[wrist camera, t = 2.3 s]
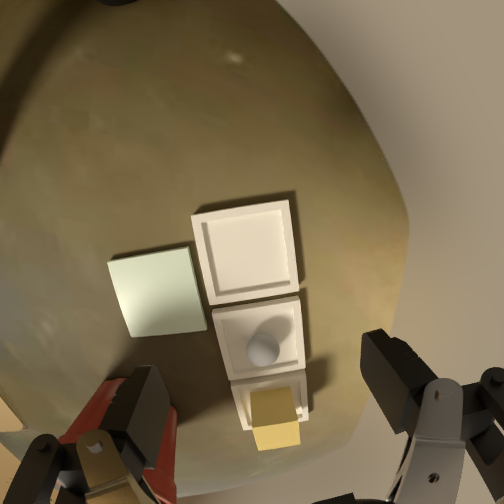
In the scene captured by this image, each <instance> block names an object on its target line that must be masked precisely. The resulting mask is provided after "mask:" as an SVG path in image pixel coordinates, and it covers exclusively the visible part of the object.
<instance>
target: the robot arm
mask: <svg viewBox="0 0 504 504" xmlns="http://www.w3.org/2000/svg"><path fill="white" fill-rule="evenodd" d="M360 369H361V373H362V376H363V379H364V380H365V382H366V384H367V385H368V387H369V389H370V391H371V392H372V394H373V396H374V397H375V399H376V401H377V403H378V404H379V406H380V408H381V409H382V411H383V413H384V415H385V417H386V418H387V420H388V422H389V424H390V425H391V427H392V429H393V431H394V432H395V434H399V433H401V432H404V431H406V432H407V434H408V435H409V436H408V438H407V442H406V445H405V448H404V451H403V454H402V457H401V461H400V464H399V466H398V469H397V472H396V475H395V478H394V480H393V482H392V485H391V487H390V489H389V491H388V493H387V495H386V497H385V500H384V501H383V500H377V499H355V498H354V495H353V493H349V494H345V495H342V496H338V497H335V498H331V499H327V500H322V501H318V502H315V503H312V504H455V501H456V497H457V493H458V489H459V484H460V479H461V473H462V468H463V461H464V454H465V449H466V450H467V452H468V454H469V455H470V457H471V459H472V460H473V462H474V464H475V466H476V467H477V469H478V471H479V472H480V474H481V476H482V478H483V480H484V482H485V483H486V485H487V487H488V489H489V491H490V493H491V495H492V497H493V498H494V500H495V502H496V504H504V436H503V434H502V433H501V432H500V430H499V429H498V427H497V426H496V425H495V423H494V420H495V419H496V421H497V422H498V423H499V425H500V426H501V427H502V428H503V430H504V369H503V368H499V367H493V368H489V369H487V370H486V371H485V372H484V373H483V374H482V376H481V380H480V382H477V383H472V384H468V385H463V386H460V385H459V384H458V383H457V382H456V381H454V380H452V379H448V378H438V377H437V376H436V375H435V374H434V372H432V370H431V369H430V368H429V367H428V366H427V365H426V363H424V361H423V360H422V359H421V358H420V357H418V355H417V354H416V353H415V352H414V351H413V350H412V348H411V347H410V346H409V345H408V344H407V343H406V342H405V341H402V340H400V339H398V338H396V337H393V338H390V337H389V336H388V335H387V333H386V332H385V331H384V330H383V329H381V328H380V329H377V330H373V331H370V332H366V333H363V335H362V342H361V359H360ZM169 409H170V396H169V393H168V390H167V388H166V386H165V384H164V381H163V379H162V377H161V374H160V372H159V369H158V368H157V366H156V365H142V366H136V368H135V370H134V372H133V374H132V376H131V378H126V379H125V380H124V381H123V382H122V383H121V384H120V385H119V386H118V388H117V390H116V392H115V394H114V396H113V398H112V400H111V404H109V406H108V408H107V410H106V412H105V414H104V416H103V419H102V421H101V423H100V425H99V427H98V429H95V430H90V431H88V432H86V433H84V434H83V435H82V436H81V437H80V438H79V439H78V441H77V443H65V444H61V443H60V442H59V441H58V440H57V439H56V437H55V436H53V435H51V434H42V435H40V436H38V437H36V438H35V439H34V440H33V441H32V443H31V444H30V446H29V448H28V450H27V452H26V454H25V456H24V458H23V460H22V462H21V464H20V466H19V468H18V470H17V472H16V474H15V476H14V478H13V481H12V483H11V485H10V487H9V490H8V492H7V494H6V497H5V499H4V501H3V504H50V497H51V494H52V491H53V489H54V486H55V483H56V481H57V482H58V483H60V484H61V487H60V490H59V493H58V496H57V499H56V502H55V504H161V502H160V501H159V499H158V498H157V496H156V495H155V493H154V492H153V490H152V489H151V487H150V486H149V484H148V483H147V481H146V479H145V478H144V477H143V475H142V474H143V470H144V469H154V470H155V467H156V463H157V458H158V454H159V450H160V446H161V441H162V437H163V433H164V429H165V425H166V421H167V417H168V413H169Z"/></svg>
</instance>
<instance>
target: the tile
mask: <svg viewBox="0 0 504 504" xmlns="http://www.w3.org/2000/svg"><path fill="white" fill-rule="evenodd" d="M107 264H108V267H109V271H110V274H111V278H112V281H113V285H114V288H115V291H116V294H117V298H118V301H119V304H120V307H121V310H122V313H123V316H124V318H125V321H126V324H127V327H128V330H129V332H130V335H131V337H144V336H156V335H167V334H177V333H186V332H195V331H204V330H207V327H208V326H207V322H206V318H205V314H204V310H203V306H202V302H201V298H200V294H199V290H198V285H197V281H196V277H195V272H194V268H193V263H192V258H191V254H190V249H189V246H187V247H181V248H175V249H170V250H164V251H158V252H152V253H147V254H141V255H136V256H130V257H125V258H119V259H114V260H110V261H108V262H107Z"/></svg>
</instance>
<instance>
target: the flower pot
mask: <svg viewBox="0 0 504 504" xmlns="http://www.w3.org/2000/svg"><path fill="white" fill-rule="evenodd" d="M125 379H126V378H117V379H114V380H110V381H108V380H107V381H104V382H103V383H102V384H101V385H100V387H99V388H98V389H97V391H96V392H95V393H94V395H93V396H92V397H91V399H90V400H89V402H88V403H87V404H86V406H85V407H84V408H83V410H82V411H81V413H80V414H79V415H78V417H77V418H76V419H75V421H74V422H73V424H72V425H71V426H70V428H69V429H68V431H67V432H66V433H65V435H62V436H61V437H59V439H58V441H59V442H60V443H61V444H65V443H77V441H78V439H79V438H80V437H81V436H82V435H83V434H84V433H86V432H88V431H90V430H95V429H98V427H99V425H100V423H101V421H102V419H103V416H104V414H105V412H106V410H107V408H108V406H109V404H111V400H112V398H113V396H114V394H115V392H116V390H117V388H118V386H119V385H120V384H121V383H122V382H123V381H124V380H125ZM176 433H177V412H176V410H175V408H174V407H172V406H171V405H170V409H169V413H168V417H167V421H166V425H165V429H164V433H163V437H162V441H161V446H160V450H159V454H158V458H157V463H156V467H155V470H154V469H144V470H143V474H142V475H143V477H144V478H145V479H146V481H147V483H148V484H149V486H150V487H151V489H152V490H153V492H154V493H155V495H156V496H157V498H158V499H159V501H160V502H161V504H176V485H175V483H174V466H175V447H176ZM56 482H57V481H56ZM57 483H58V482H57ZM58 484H59V485H60V486H61V484H60V483H58Z"/></svg>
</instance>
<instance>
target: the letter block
mask: <svg viewBox="0 0 504 504" xmlns="http://www.w3.org/2000/svg"><path fill="white" fill-rule="evenodd" d="M250 405H251V420H252V430H253V433H254V437H255V440H256V444H257V447H258V451H260V450H268V449H275V448H281V447H287V446H293V445H298V444H300V435H299V422H298V417H297V413H296V409H295V405H294V401H293V397H292V393H291V388H290V386H288V387H282V388H276V389H270V390H264V391H257V392H250Z"/></svg>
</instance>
